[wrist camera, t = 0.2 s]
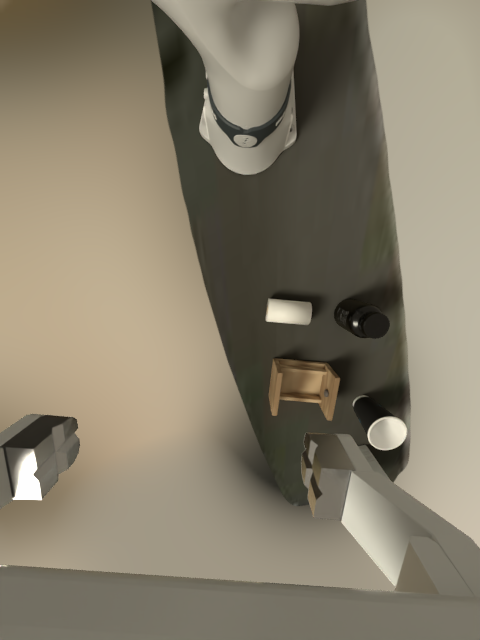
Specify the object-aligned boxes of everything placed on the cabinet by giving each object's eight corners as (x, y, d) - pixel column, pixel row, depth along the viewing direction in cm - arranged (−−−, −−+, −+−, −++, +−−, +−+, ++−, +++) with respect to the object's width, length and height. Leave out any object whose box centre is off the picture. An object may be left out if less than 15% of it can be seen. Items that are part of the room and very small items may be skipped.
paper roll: (264, 318, 56) (266, 323, 51) (267, 297, 55) (269, 300, 50) (304, 321, 56) (310, 327, 51) (307, 300, 55) (313, 304, 50)
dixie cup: (342, 414, 61) (363, 447, 51) (351, 386, 59) (375, 414, 49) (372, 420, 61) (400, 453, 51) (382, 392, 60) (413, 420, 49)
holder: (268, 395, 60) (272, 415, 53) (273, 358, 58) (277, 372, 50) (320, 400, 60) (331, 420, 53) (327, 363, 58) (340, 378, 50)
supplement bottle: (349, 333, 56) (377, 351, 45) (327, 316, 56) (349, 330, 44) (370, 309, 55) (403, 322, 43) (347, 292, 54) (375, 300, 43)
